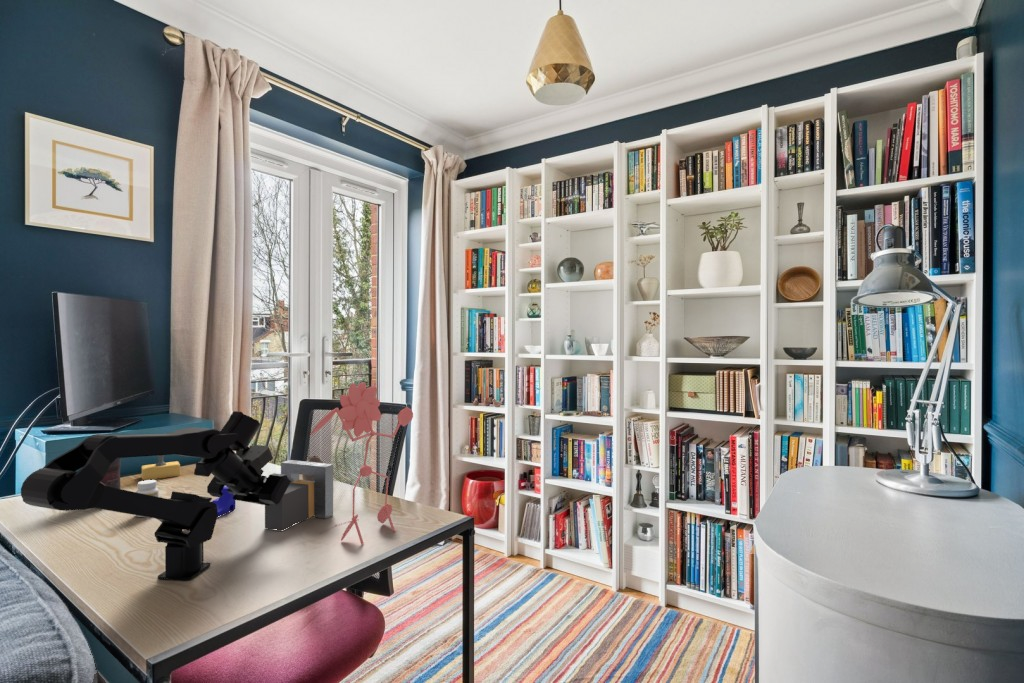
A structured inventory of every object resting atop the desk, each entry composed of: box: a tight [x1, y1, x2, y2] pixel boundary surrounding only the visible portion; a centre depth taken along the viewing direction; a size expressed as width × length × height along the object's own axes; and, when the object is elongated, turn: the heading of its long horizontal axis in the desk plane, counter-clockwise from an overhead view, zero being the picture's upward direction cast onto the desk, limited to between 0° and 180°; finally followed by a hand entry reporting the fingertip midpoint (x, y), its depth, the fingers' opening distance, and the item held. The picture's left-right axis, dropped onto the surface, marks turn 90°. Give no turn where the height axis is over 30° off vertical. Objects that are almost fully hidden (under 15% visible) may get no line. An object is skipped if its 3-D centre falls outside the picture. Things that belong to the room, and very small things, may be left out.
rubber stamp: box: [141, 455, 181, 481], centre depth 167 cm, size 10×6×12 cm, turn 128°
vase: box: [301, 455, 324, 481], centre depth 159 cm, size 7×7×9 cm
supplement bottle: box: [135, 479, 160, 518], centre depth 132 cm, size 5×5×8 cm
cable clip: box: [211, 486, 236, 518], centre depth 131 cm, size 12×4×6 cm, turn 170°
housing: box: [280, 459, 334, 519], centre depth 133 cm, size 3×14×13 cm, turn 72°
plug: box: [264, 479, 315, 531], centre depth 128 cm, size 12×5×9 cm, turn 162°
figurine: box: [310, 381, 415, 545], centre depth 122 cm, size 15×26×35 cm, turn 145°
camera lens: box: [100, 458, 122, 489], centre depth 140 cm, size 8×8×15 cm
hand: (268, 503), depth 121 cm, fingers closed
